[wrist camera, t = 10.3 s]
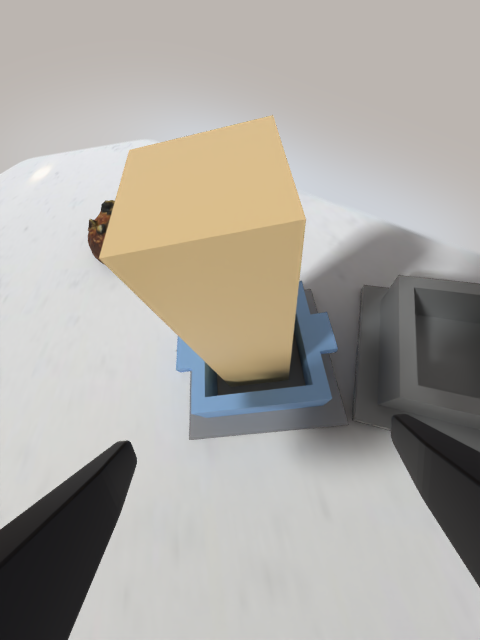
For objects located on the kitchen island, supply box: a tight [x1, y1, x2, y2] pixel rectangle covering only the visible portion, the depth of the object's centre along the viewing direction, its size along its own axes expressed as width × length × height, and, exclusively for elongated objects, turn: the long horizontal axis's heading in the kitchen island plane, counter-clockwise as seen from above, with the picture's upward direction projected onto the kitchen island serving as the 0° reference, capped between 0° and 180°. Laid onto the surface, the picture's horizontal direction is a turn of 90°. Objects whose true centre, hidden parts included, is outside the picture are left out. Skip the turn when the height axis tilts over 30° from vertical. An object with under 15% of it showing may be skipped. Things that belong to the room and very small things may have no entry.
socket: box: [352, 275, 480, 452], centre depth 13 cm, size 10×10×4 cm
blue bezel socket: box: [176, 281, 349, 440], centre depth 16 cm, size 10×10×4 cm
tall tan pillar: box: [99, 115, 306, 387], centre depth 11 cm, size 4×4×13 cm
